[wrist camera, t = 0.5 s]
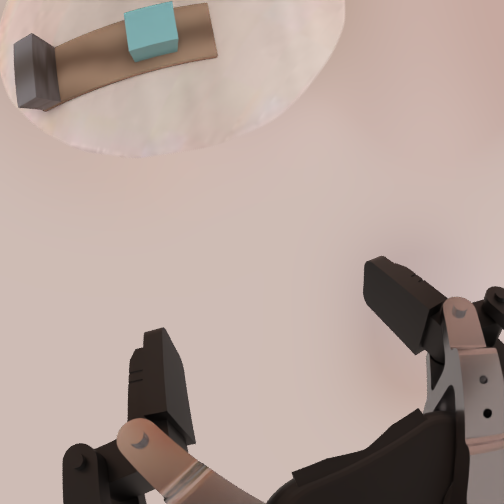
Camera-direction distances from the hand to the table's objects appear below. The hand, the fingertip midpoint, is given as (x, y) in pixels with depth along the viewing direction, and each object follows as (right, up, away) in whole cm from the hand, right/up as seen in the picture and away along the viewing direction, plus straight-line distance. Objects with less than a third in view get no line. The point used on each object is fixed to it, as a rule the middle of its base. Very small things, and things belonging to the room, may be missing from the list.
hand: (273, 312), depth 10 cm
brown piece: (-16, +26, +13) cm, 33 cm away
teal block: (-12, +27, +13) cm, 32 cm away
